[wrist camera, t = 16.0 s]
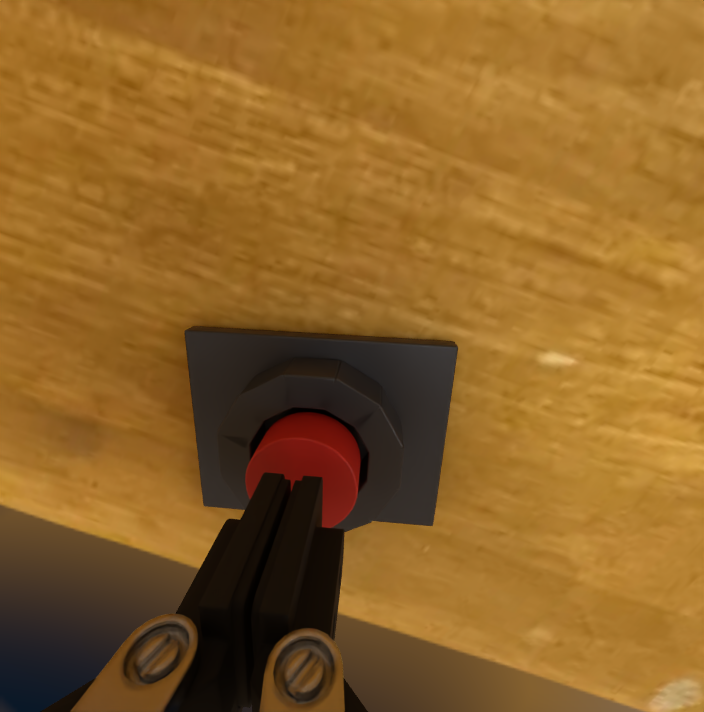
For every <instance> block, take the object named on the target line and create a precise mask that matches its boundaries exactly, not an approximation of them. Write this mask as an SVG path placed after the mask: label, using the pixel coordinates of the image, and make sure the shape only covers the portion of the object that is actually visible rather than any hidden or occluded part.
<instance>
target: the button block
mask: <svg viewBox="0 0 704 712" xmlns="http://www.w3.org/2000/svg"><path fill="white" fill-rule="evenodd" d="M185 341H186V350H187V359H188V368H189V377H190V386H191V395H192V404H193V413H194V422H195V431H196V441H197V450H198V459H199V468H200V477H201V486H202V495H203V504H204V506H208V507H219V508H231V509H242V510H245V509H246V507H247V505H248V503H249V501H250V498H249V496H248V493H247V490H246V483H245V475H246V469H247V467H248V464H249V462H250V460H251V458H252V456H253V455H254V453H255V451H256V449H257V448H258V446H259V444H260V442H261V441H262V439H263V437H264V435H265V434H266V432H267V430H268V429H269V428H270V427H271V426H272V425H273V424H274V423H275V422H276V421H278V420H279V419H281V418H283V417H285V416H287V415H290V414H294V413H298V412H315V413H320V414H324V415H327V416H329V417H332V418H333V419H335V420H337V421H339V422H340V423H341V424H343V425H344V426H345V427H346V428H347V429H348V430H349V431H350V432H351V434H352V435H353V437H354V438H355V440H356V442H357V444H358V447H359V450H360V459H361V462H360V473H359V485H358V495H357V499H356V503H355V505H354V507H353V509H352V510H351V512H350V513H349V514H348V516H347V517H346V518H345V519H344V520H342V521H341V522H340V523H338V524H337V525H335V526H333V527H331V528H337V529H344V532H346V531H349V530H352V529H354V528H357V527H360V526H363V525H365V524H368V523H371V522H372V521H380V522H391V523H403V524H414V525H426V526H433V522H434V515H435V508H436V501H437V494H438V486H439V479H440V472H441V465H442V458H443V451H444V444H445V437H446V430H447V423H448V415H449V408H450V401H451V394H452V387H453V380H454V373H455V366H456V359H457V351H458V347H457V345H456V344H455V342H453V341H436V340H419V339H402V338H385V337H369V336H352V335H335V334H318V333H301V332H284V331H267V330H250V329H233V328H216V327H199V326H193V327H191V328H189V329H187V330H185Z"/></svg>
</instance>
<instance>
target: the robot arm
mask: <svg viewBox="0 0 704 712" xmlns="http://www.w3.org/2000/svg"><path fill="white" fill-rule="evenodd" d="M322 504H323V478H322V477H316V476H303V477H302V480H301V481H300V480H295V482H294V485H293V488H292V491H291V480H288V479H285V476H284V474H280V473H268V472H265V473H263V475H262V477H261V479H260V481H259V483H258V485H257V487H256V489H255V491H254V493H253V495H252V497H251V499H250V501H249V503H248V505H247V507H246V509H245V512H244V514H243V516H242V518H241V520H238V519H228V520H227V521H226V522H225V524H224V525H223V527H222V529H221V531H220V532H219V534H218V536H217V538H216V540H215V542H214V544H213V545H212V547H211V549H210V551H209V553H208V555H207V557H206V558H205V560H204V562H203V564H202V566H201V568H200V569H199V571H198V573H197V575H196V577H195V579H194V581H193V582H192V584H191V586H190V588H189V590H188V592H187V593H186V595H185V597H184V599H183V601H182V603H181V605H180V606H179V608H178V610H177V612H176V614H167V615H162V616H158V617H156V618H154V619H152V620H150V621H147V622H146V623H145V624H143V625H142V626H140V627H139V628H138V629H136V630H135V631H134V632H133V633H132V635H130V636H129V637H128V638H127V639H126V641H125V642H124V643H123V644H122V646H121V647H120V648H119V649H118V651H117V652H116V653H115V655H114V656H113V658H112V659H111V660H110V661H109V662H108V664H107V665H106V666H105V667H104V669H103V670H102V671H101V673H100V674H99V675H98V677H97V678H95V679H93V680H92V681H90V682H88V683H87V684H85V685H83V686H82V687H80V688H78V689H77V690H75V691H74V692H72V693H70V694H69V695H67V696H65V697H64V698H62V699H60V700H59V701H57V702H56V703H54V704H52V705H51V706H49V707H48V708H46V709H44V710H42V711H41V712H242V708H243V707H249V708H250V707H251V705H252V712H368V711H367V710H366V709H365V707H364V706H363V704H362V703H361V702H360V700H359V699H358V697H357V696H356V695H355V693H354V692H353V690H352V689H351V688H350V686H349V685H348V683H347V682H346V681H345V679H344V678H343V664H342V659H341V653H340V651H339V649H338V647H337V645H336V643H335V642H334V638H335V629H336V621H337V612H338V604H339V595H340V586H341V577H342V565H343V550H344V529H337V528H326V527H322Z"/></svg>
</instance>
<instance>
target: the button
mask: <svg viewBox="0 0 704 712" xmlns="http://www.w3.org/2000/svg"><path fill="white" fill-rule="evenodd" d="M360 462H361V459H360V450H359V447H358V444H357V442H356V440H355V438H354V437H353V435H352V434H351V432H350V431H349V430H348V429H347V428H346V427H345V426H344V425H343V424H341V423H340V422H339V421H337V420H335V419H333V418H332V417H329V416H327V415H324V414H320V413H315V412H298V413H294V414H290V415H287V416H285V417H283V418H281V419H279V420H278V421H276V422H275V423H274V424H273V425H272V426H271V427H270V428H269V429H268V430H267V432H266V434H265V435H264V437H263V439H262V441H261V442H260V444H259V446H258V448H257V449H256V451H255V453H254V455H253V456H252V458H251V460H250V462H249V464H248V467H247V469H246V475H245V483H246V490H247V493H248V496H249V498H250V499H251V497H252V495H253V493H254V491H255V489H256V487H257V485H258V483H259V481H260V479H261V477H262V475H263V473H265V472H268V473H280V474H284V476H285V479H288V480H291V491H292V488H293V485H294V482H295V480H300V481H301V480H302V477H303V476H316V477H322V478H323V504H322V527H326V528H331V527H333V526H335V525H337V524H338V523H340V522H341V521H342V520H344V519H345V518H346V517H347V516H348V514H349V513H350V512H351V510H352V509H353V507H354V505H355V503H356V499H357V495H358V485H359V473H360Z"/></svg>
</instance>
